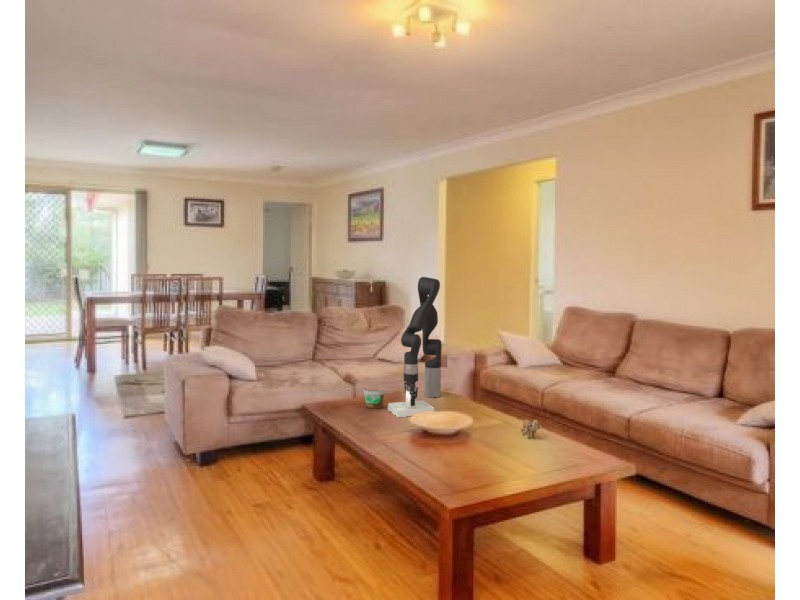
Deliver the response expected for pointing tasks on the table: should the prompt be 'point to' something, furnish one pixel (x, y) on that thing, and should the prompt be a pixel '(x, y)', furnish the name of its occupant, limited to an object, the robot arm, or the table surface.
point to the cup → (409, 401)
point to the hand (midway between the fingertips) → (410, 404)
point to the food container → (374, 399)
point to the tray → (401, 410)
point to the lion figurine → (530, 427)
